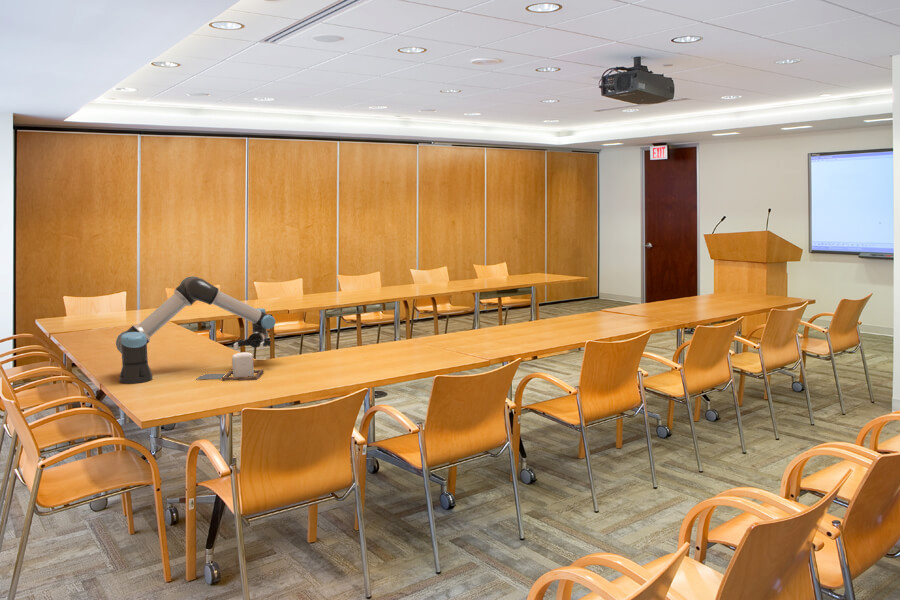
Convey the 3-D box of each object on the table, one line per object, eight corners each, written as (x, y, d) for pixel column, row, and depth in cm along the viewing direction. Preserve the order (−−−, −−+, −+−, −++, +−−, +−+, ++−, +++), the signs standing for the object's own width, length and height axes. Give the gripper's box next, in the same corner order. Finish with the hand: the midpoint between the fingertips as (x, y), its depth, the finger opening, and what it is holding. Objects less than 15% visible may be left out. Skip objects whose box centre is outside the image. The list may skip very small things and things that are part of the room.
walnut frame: (222, 380, 361) (221, 377, 361) (230, 373, 378) (230, 370, 377) (257, 380, 362) (256, 377, 362) (263, 372, 379) (263, 369, 378)
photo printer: (233, 378, 366) (232, 354, 364) (232, 377, 369) (231, 352, 368) (254, 376, 370) (253, 352, 369) (253, 374, 374) (251, 351, 372)
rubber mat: (195, 380, 363) (195, 379, 363) (202, 375, 375) (202, 374, 375) (220, 379, 364) (220, 378, 364) (226, 374, 376) (226, 373, 376)
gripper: (279, 345, 401) (272, 352, 380) (233, 347, 400) (223, 354, 379) (279, 332, 400) (271, 338, 379) (232, 333, 399) (222, 340, 378)
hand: (247, 346), depth 379 cm, fingers open, 13 cm apart
